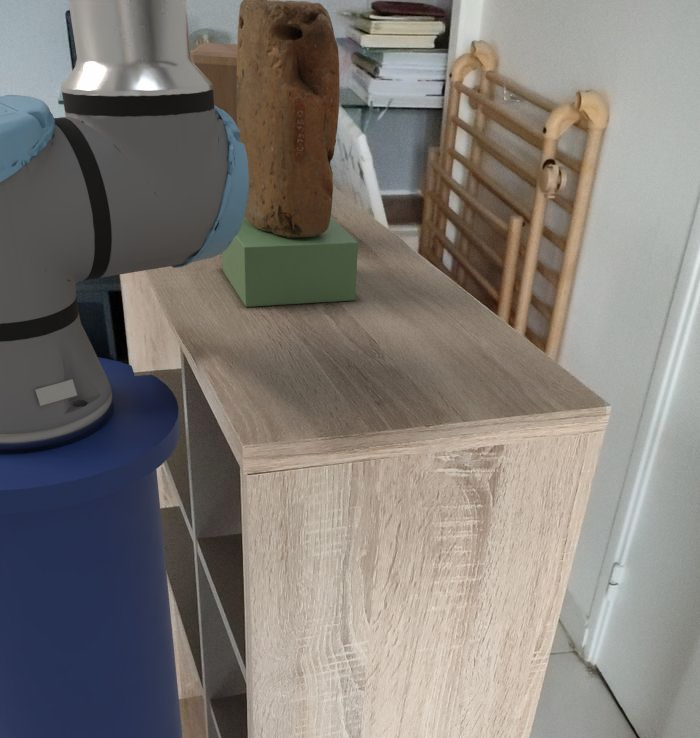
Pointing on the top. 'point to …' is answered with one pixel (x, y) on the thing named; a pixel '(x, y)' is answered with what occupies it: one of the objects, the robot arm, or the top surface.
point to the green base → (291, 266)
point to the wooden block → (220, 73)
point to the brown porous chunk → (288, 113)
